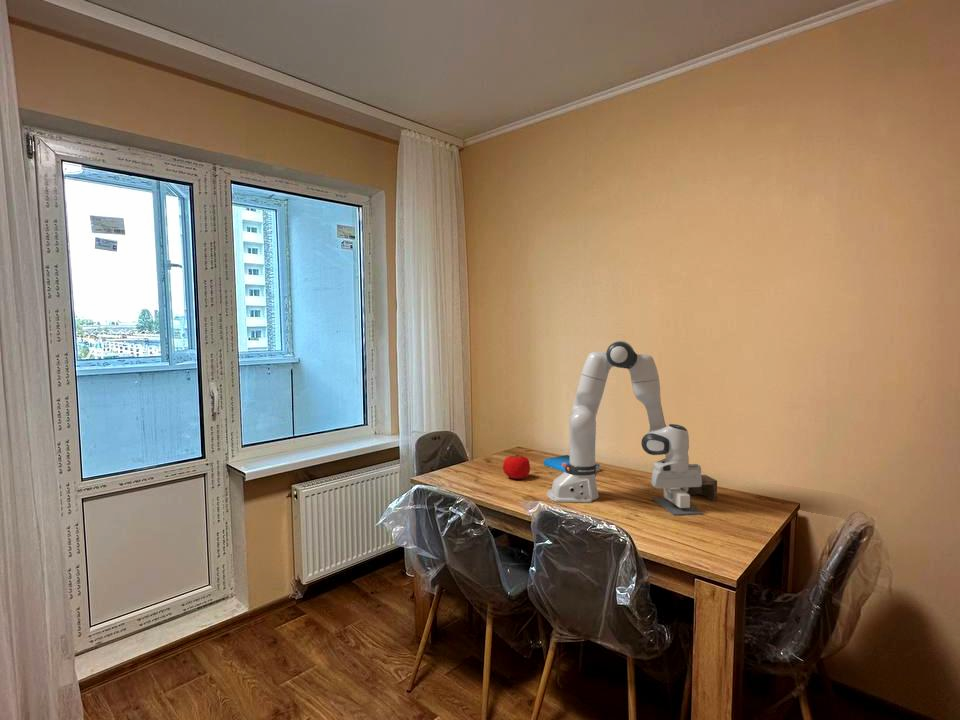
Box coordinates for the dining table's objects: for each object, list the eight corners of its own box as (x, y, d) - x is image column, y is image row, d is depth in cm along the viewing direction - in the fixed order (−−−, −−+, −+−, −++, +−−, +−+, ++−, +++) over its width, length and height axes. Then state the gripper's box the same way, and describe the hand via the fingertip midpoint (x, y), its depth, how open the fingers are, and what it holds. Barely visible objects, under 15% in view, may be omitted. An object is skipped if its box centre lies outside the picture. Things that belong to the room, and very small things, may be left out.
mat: (673, 515, 193) (673, 514, 193) (652, 499, 212) (652, 498, 212) (703, 514, 195) (703, 512, 195) (678, 498, 213) (678, 497, 213)
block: (680, 508, 196) (680, 495, 196) (663, 496, 210) (663, 484, 210) (689, 507, 197) (690, 495, 196) (672, 496, 211) (672, 484, 210)
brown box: (691, 501, 209) (691, 481, 209) (680, 494, 218) (680, 475, 218) (716, 500, 210) (717, 480, 210) (705, 493, 219) (705, 474, 219)
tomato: (531, 481, 239) (530, 457, 239) (503, 481, 239) (503, 458, 239) (529, 474, 251) (528, 451, 251) (502, 474, 252) (502, 452, 251)
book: (566, 454, 278) (600, 463, 257) (566, 462, 278) (600, 471, 257) (543, 459, 268) (576, 468, 247) (543, 467, 268) (576, 477, 247)
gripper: (697, 461, 207) (696, 494, 207) (649, 463, 205) (649, 496, 205) (705, 465, 200) (704, 499, 201) (656, 467, 198) (656, 501, 199)
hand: (676, 497), depth 203 cm, fingers closed on block, 4 cm apart
